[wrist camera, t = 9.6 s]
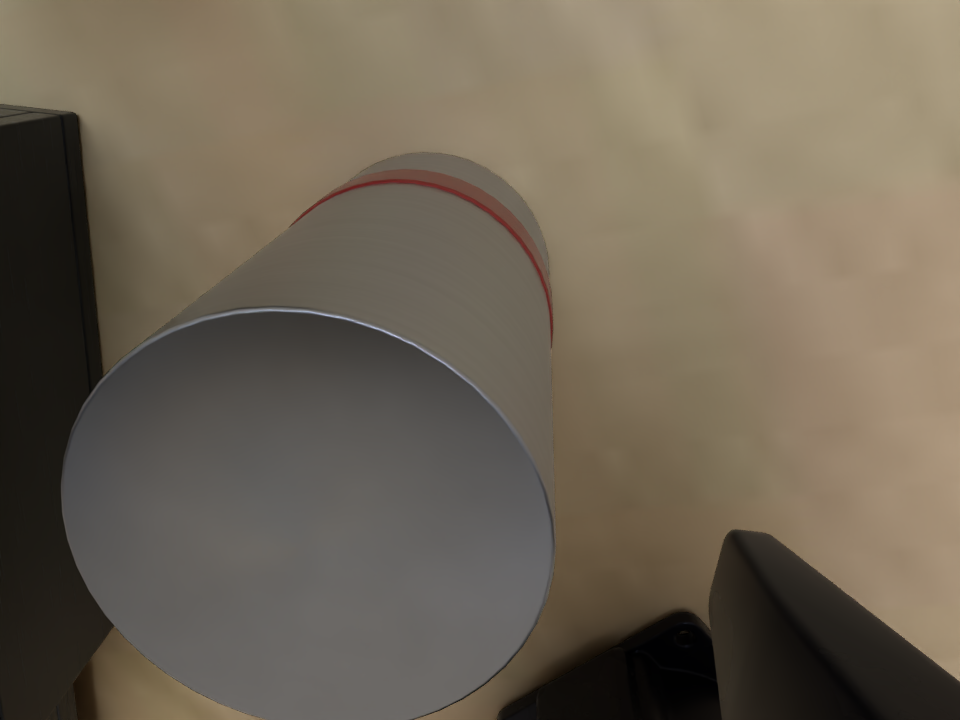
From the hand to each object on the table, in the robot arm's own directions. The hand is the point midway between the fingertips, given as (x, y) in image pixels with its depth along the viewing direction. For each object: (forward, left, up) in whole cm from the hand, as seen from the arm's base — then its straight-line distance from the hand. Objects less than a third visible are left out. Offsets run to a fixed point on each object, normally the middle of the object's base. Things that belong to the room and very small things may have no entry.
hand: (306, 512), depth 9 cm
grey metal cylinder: (0, 0, -10) cm, 10 cm away
